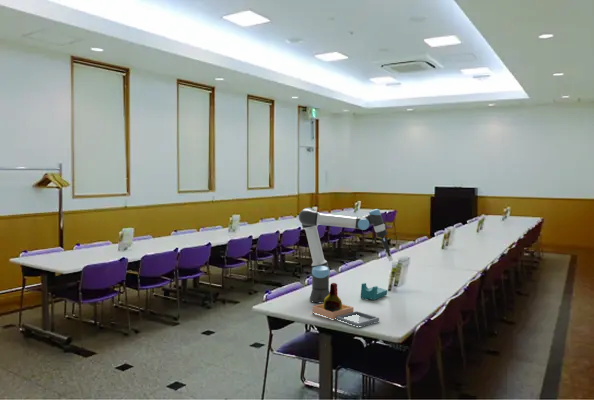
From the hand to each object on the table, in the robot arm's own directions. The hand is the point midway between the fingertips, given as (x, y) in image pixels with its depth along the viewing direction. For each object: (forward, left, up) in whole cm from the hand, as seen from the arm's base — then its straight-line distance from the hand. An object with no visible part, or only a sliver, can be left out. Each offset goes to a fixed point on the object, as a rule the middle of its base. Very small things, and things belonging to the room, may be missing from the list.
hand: (389, 259), depth 337 cm
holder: (+4, -59, -28) cm, 66 cm away
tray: (+23, -57, -28) cm, 68 cm away
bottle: (+4, -59, -28) cm, 66 cm away
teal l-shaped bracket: (-8, -7, -28) cm, 30 cm away
